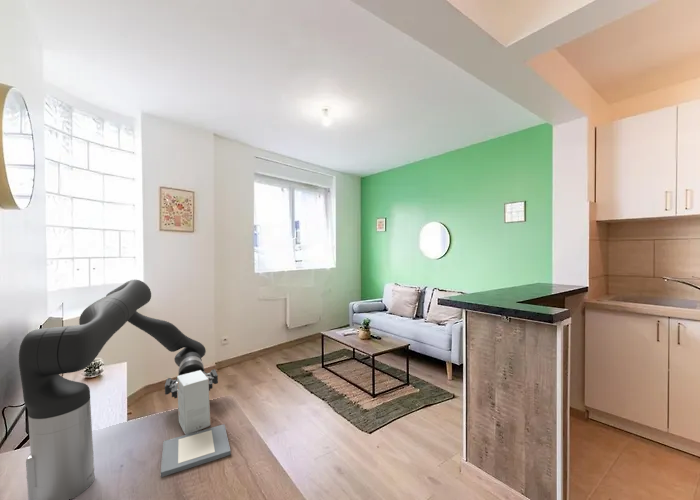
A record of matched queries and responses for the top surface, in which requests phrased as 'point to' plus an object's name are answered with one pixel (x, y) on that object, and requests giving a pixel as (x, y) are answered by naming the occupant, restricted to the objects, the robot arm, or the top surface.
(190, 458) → the base board
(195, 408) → the small box
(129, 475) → the top surface
